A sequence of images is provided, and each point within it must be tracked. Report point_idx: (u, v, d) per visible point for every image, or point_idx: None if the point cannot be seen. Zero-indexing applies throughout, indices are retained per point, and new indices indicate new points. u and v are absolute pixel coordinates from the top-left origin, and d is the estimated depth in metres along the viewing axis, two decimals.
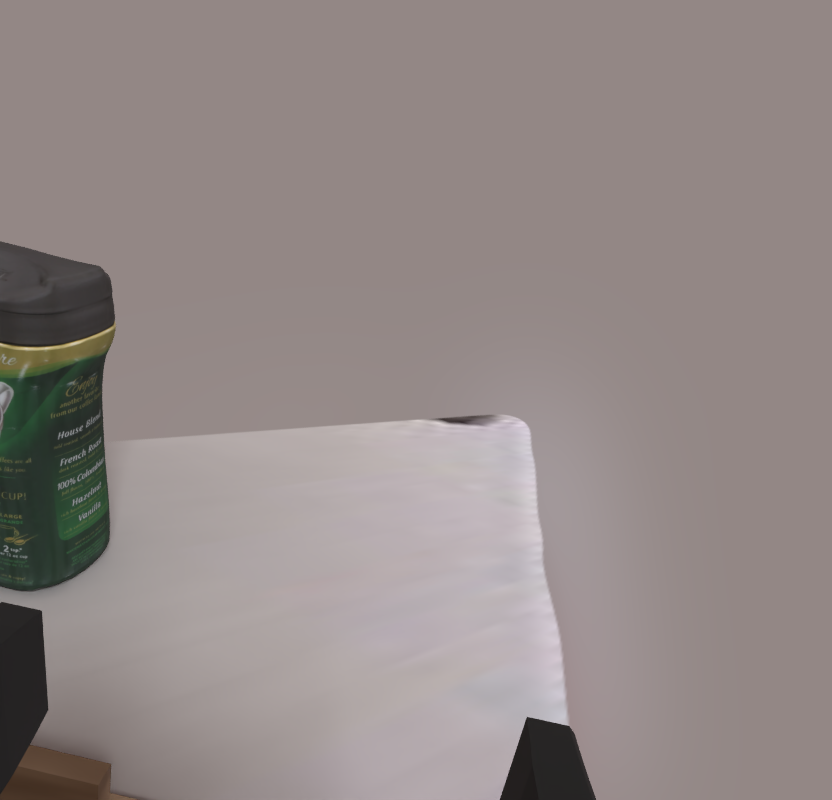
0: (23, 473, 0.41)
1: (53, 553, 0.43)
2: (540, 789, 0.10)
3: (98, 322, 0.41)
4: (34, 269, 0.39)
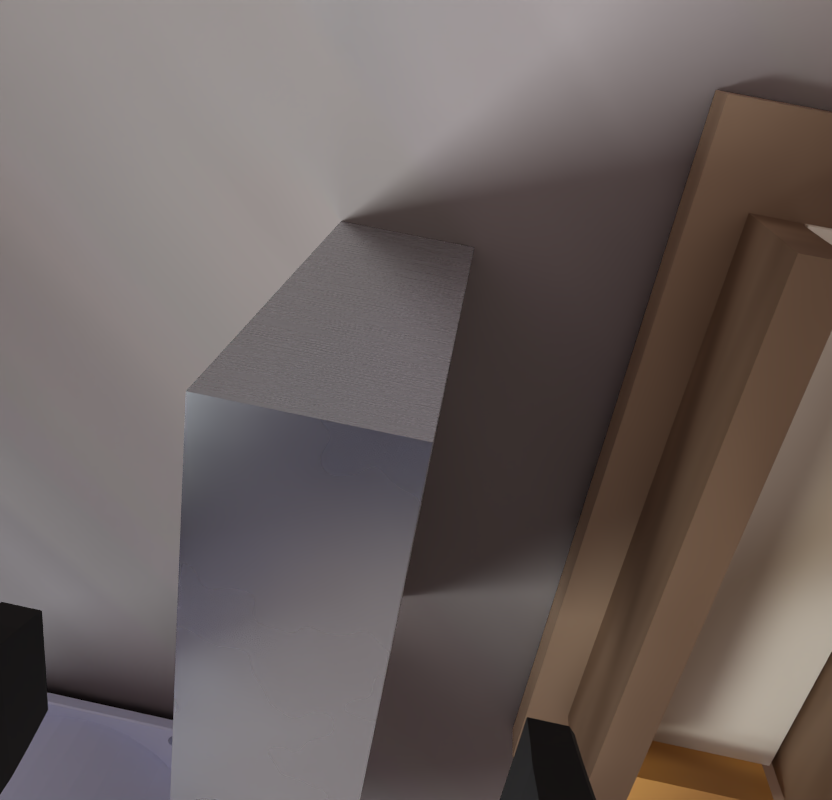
0: None
1: None
2: (540, 789, 0.10)
3: None
4: None
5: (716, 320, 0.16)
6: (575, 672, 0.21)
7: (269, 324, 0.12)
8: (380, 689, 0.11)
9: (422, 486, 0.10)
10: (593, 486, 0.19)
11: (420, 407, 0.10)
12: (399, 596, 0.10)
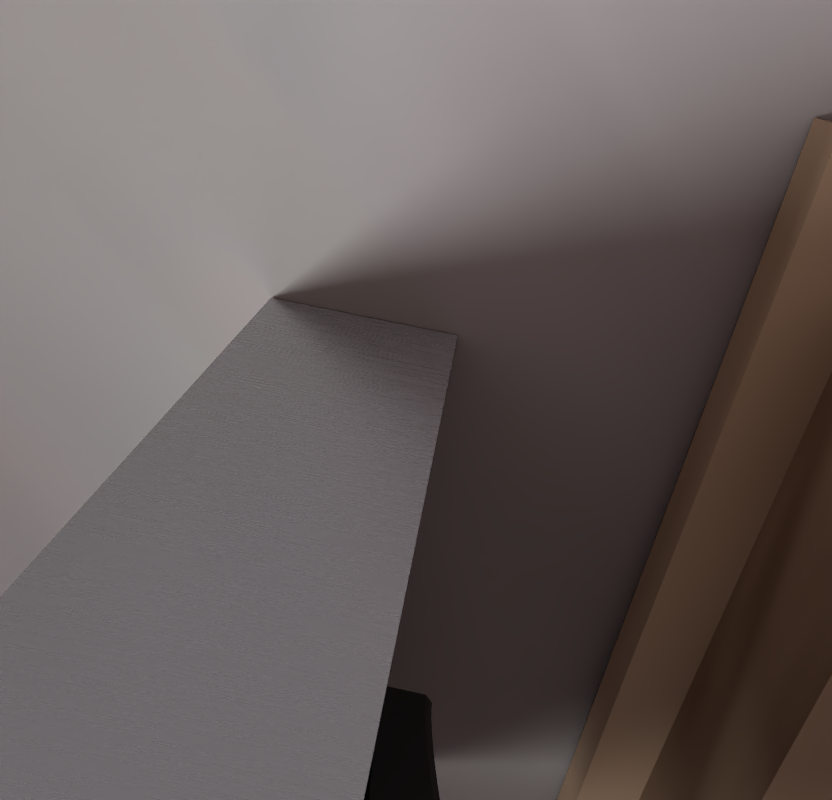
0: None
1: None
2: (377, 753, 0.10)
3: None
4: None
5: (808, 453, 0.11)
6: None
7: (80, 553, 0.06)
8: None
9: None
10: (621, 647, 0.14)
11: (327, 792, 0.05)
12: None
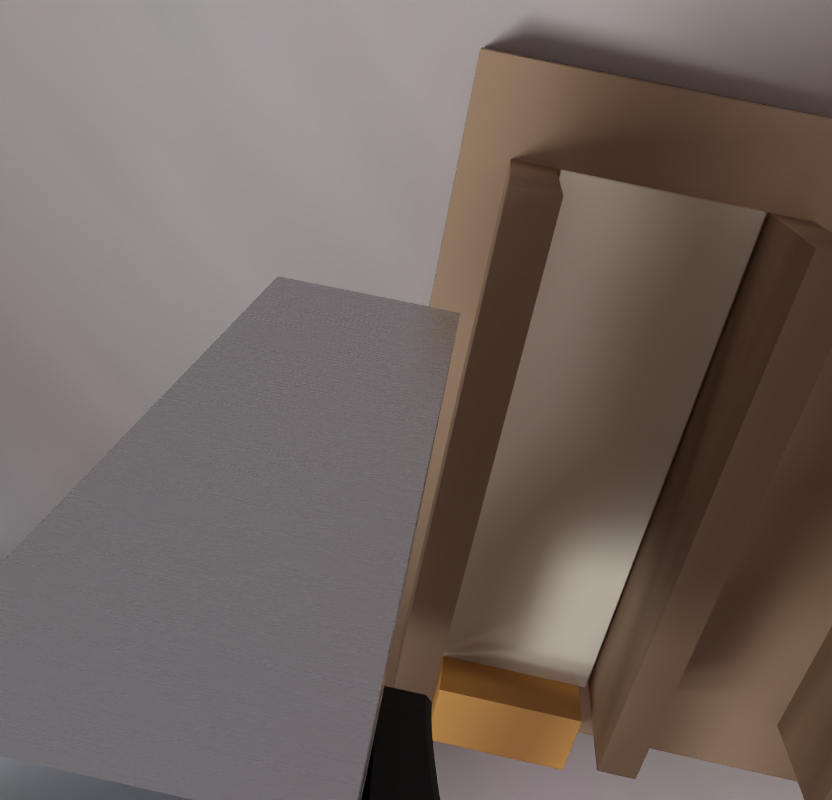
0: None
1: None
2: (378, 753, 0.10)
3: None
4: None
5: (488, 258, 0.17)
6: (403, 598, 0.22)
7: (100, 501, 0.07)
8: None
9: None
10: None
11: (338, 710, 0.05)
12: None
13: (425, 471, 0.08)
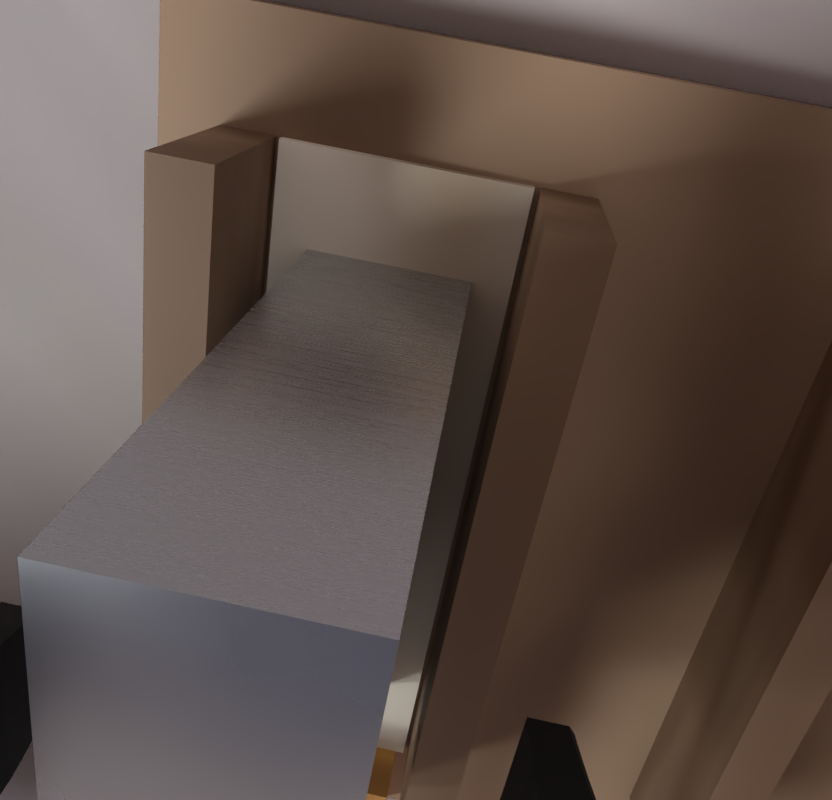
0: None
1: None
2: (540, 789, 0.10)
3: None
4: None
5: None
6: None
7: (180, 417, 0.08)
8: None
9: (385, 698, 0.06)
10: None
11: (386, 564, 0.07)
12: None
13: (445, 404, 0.10)
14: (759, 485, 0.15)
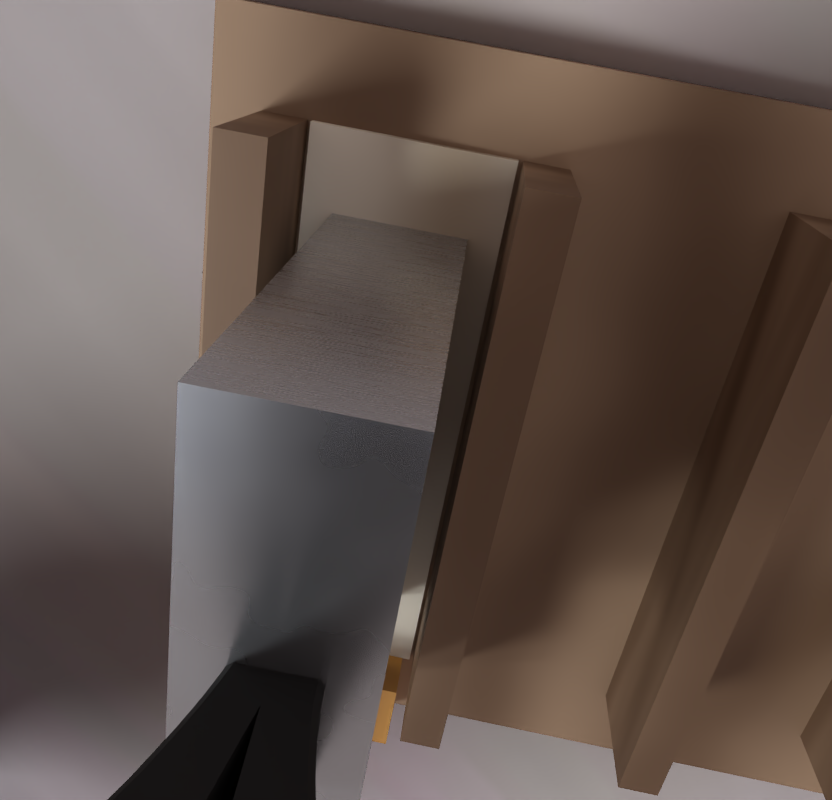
0: None
1: None
2: (259, 727, 0.10)
3: None
4: None
5: None
6: None
7: (262, 315, 0.11)
8: (380, 689, 0.11)
9: (423, 478, 0.09)
10: None
11: (420, 396, 0.10)
12: (399, 592, 0.10)
13: (453, 314, 0.13)
14: (707, 411, 0.18)
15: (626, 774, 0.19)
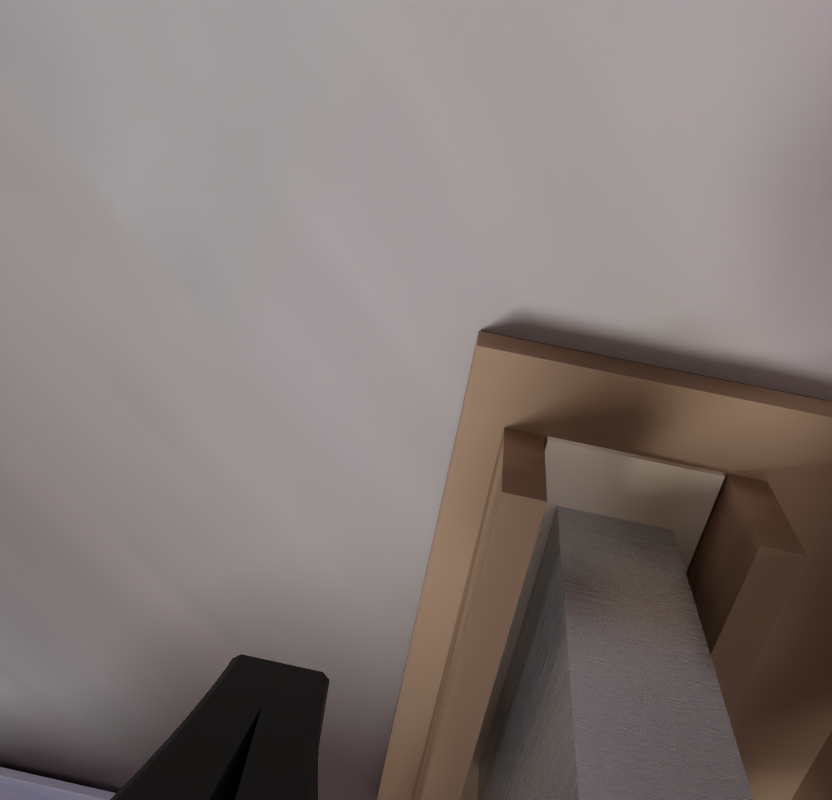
0: None
1: None
2: (261, 727, 0.10)
3: None
4: None
5: (485, 505, 0.20)
6: (414, 760, 0.25)
7: (587, 707, 0.14)
8: None
9: None
10: None
11: None
12: None
13: (715, 674, 0.16)
14: None
15: None
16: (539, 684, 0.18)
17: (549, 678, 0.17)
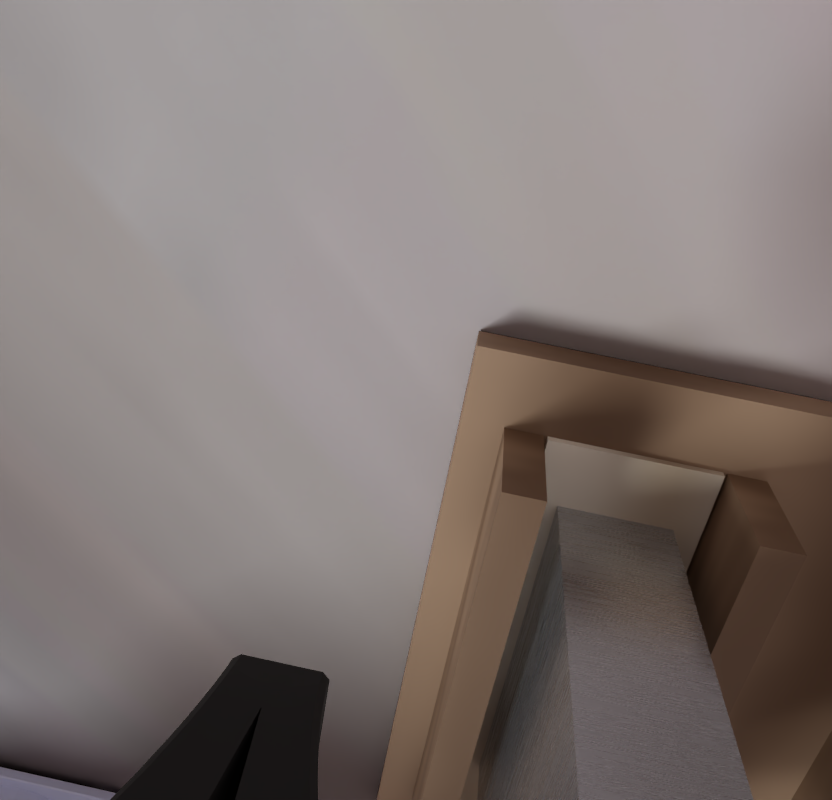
0: None
1: None
2: (261, 727, 0.10)
3: None
4: None
5: (485, 505, 0.20)
6: (414, 760, 0.25)
7: (587, 707, 0.14)
8: None
9: None
10: (417, 615, 0.23)
11: None
12: None
13: (715, 674, 0.16)
14: None
15: None
16: (539, 684, 0.18)
17: (549, 678, 0.17)
